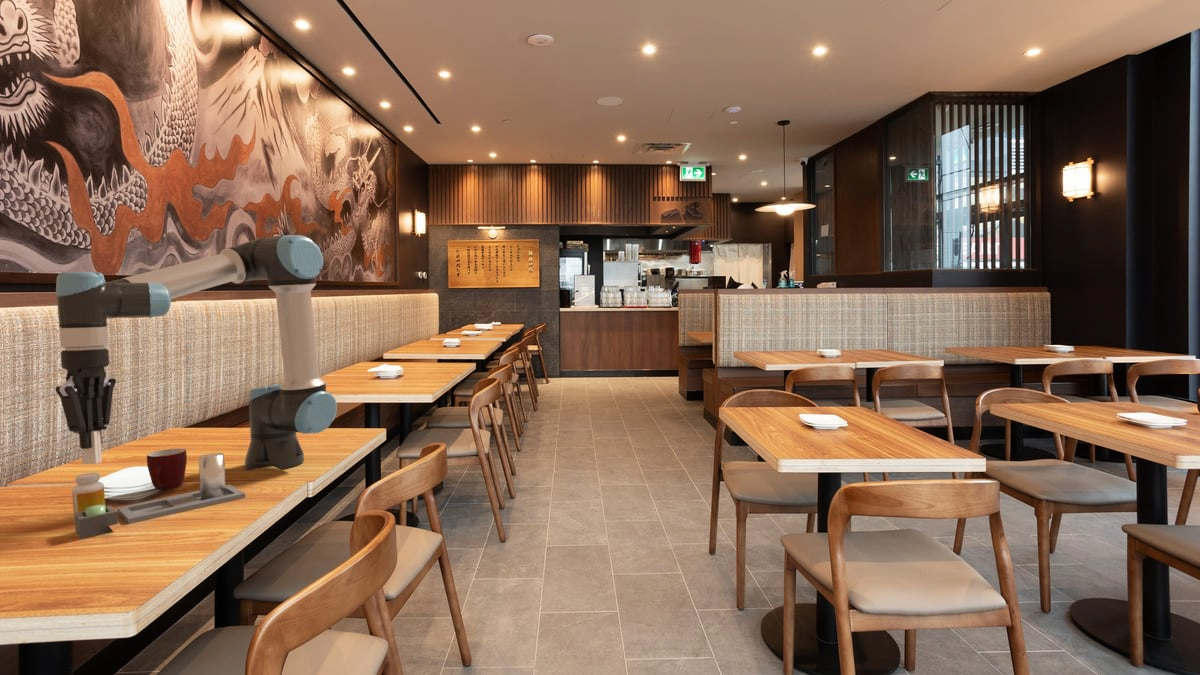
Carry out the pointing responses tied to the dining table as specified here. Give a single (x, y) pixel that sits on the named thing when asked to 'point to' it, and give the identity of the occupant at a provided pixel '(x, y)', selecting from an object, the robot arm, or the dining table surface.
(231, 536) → the dining table surface
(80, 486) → the supplement bottle
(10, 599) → the dining table surface
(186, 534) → the dining table surface
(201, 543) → the dining table surface
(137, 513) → the grey slotted tray
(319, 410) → the robot arm
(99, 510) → the light green egg
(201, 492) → the seated billet
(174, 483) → the mug
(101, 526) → the grey square holder
